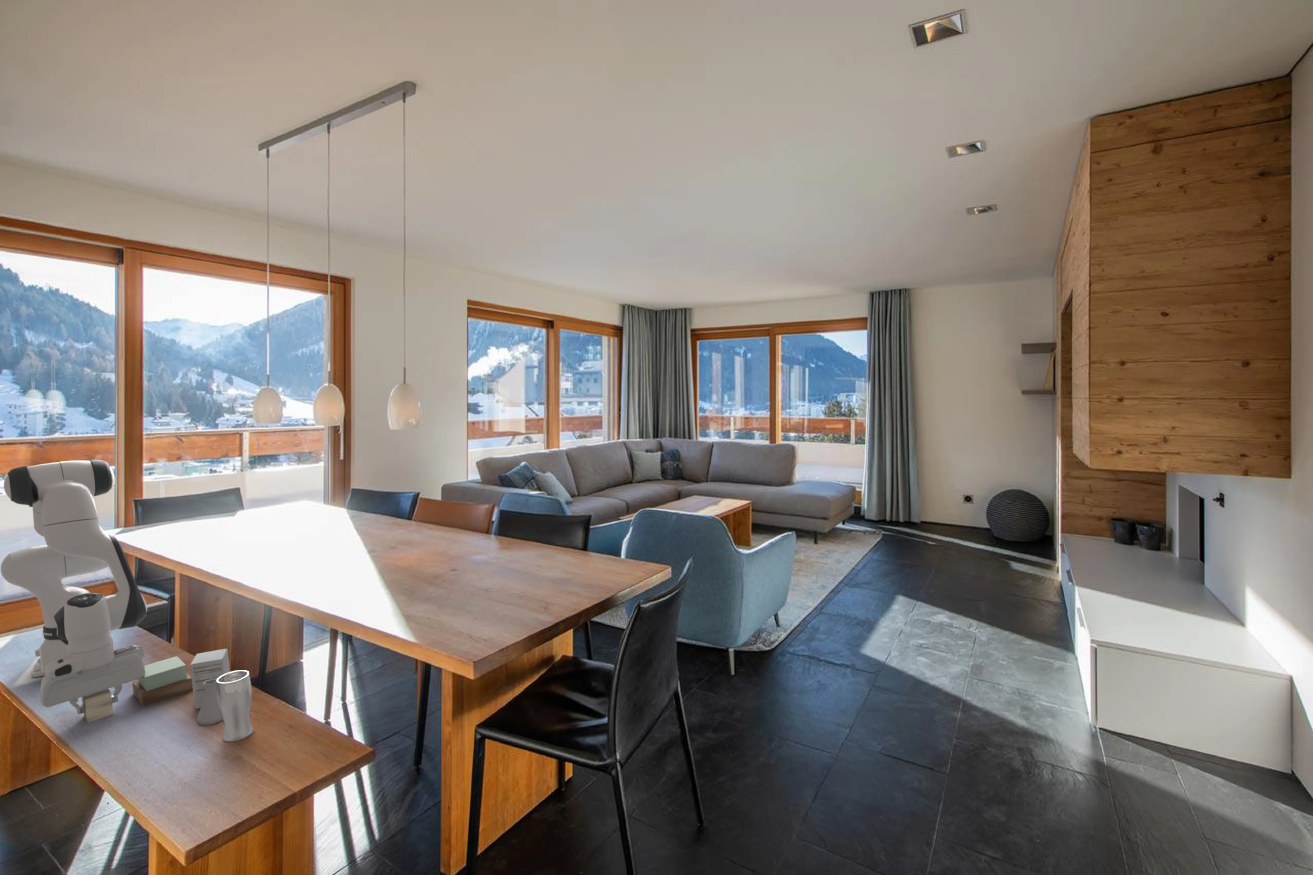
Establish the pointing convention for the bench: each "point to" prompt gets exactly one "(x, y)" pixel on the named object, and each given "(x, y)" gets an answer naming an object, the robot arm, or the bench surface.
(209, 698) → the flask
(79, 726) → the bench surface
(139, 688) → the tower base slab
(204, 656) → the supplement box
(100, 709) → the birch block
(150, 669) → the tower top block
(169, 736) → the bench surface
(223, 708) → the beer glass
